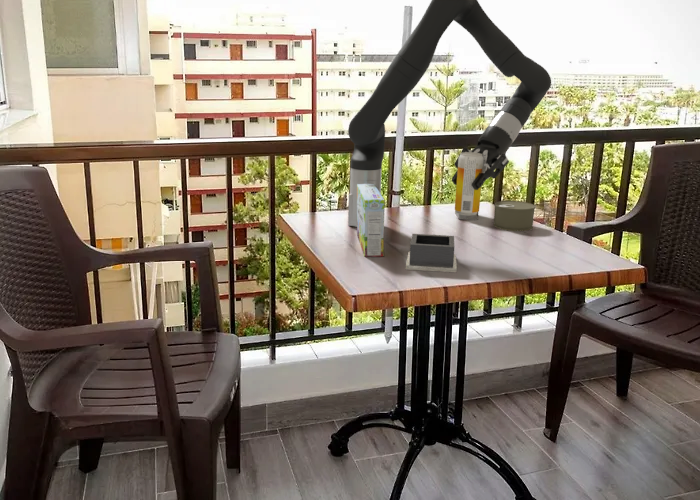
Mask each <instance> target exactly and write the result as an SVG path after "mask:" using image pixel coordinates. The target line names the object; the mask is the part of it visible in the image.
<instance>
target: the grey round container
mask: <svg viewBox="0 0 700 500" xmlns="http://www.w3.org/2000/svg"><path fill="white" fill-rule="evenodd" d="M535 209H536V205H535V204H533V203H530V202H524V201H519V200H500V201H496V202H494V215H493V227H494V228H496V229H499V230H503V231H508V232H527V231H531V230H532V229H533V224H534V216H535Z"/></svg>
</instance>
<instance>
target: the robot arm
mask: <svg viewBox="0 0 700 500" xmlns="http://www.w3.org/2000/svg"><path fill="white" fill-rule="evenodd" d="M453 21H454V22H455V23H457V24H458V25H459V26H461V27H462V28H463V29H465V30H466V31H467V32H468V33H469V34H470V36H472V38H473V39H475V41H476V43H477V44H478V45H479V47H480V48H481V50H482V51H483V52H484V54H485V56H486V57H487V58H488V59H489V60H490V61H491V63H493V65H494V66H495V67H496V68H497V69H498V71H500V72H501V74H502V75H503V76H505V77H506V78H512V77H515V78H516V79H518V80H519V81H520V83H519V85H518V87H517V89H516V90H515V92H514V93H513V95H512V96H511V97H510V99H508V100H507V101H506V103H505V104H504V105H503V106H502V108H501V109H500V111H499V112H498V113H497V114H496V115H495V116H494V118H492V120H491V121H490V123H488V125H487V127H486V128H485V130H484V131H483V133H482V134H481V135H480V137H479V138H478V139H477V140H478V141H477V145H476V146H475V147H474V148H473V149H469V148H468V147H465V146H464V148H463V149H461V151H460V153H459V155H458V156H457V159H456V161H455V162H454V166H455V168H456V172H454V174H453V176H452V177H451V182H452V184H453V185H455V186H456V185H457V172H458V159H459V156H460V154H461V153H462V152H475V153H481V154H482V156H483V159H484V160H483V167H482V170H481V173H479V174H478V176H477V177H476V179H475V180H474V181H473V183H472V187H473V188H474V189H475V190H478V189H479V188H480V187H481V188H482V186H483V185H484V184H485V182H486V181H487V180H490V178H492V179H496V178H497V176H499V175H500V174H501V172H503V170H504V169H505V168H506V167H507V165H508V164H509V163H510V161H509V159H508V157H507V156H506V153H507V151H508V150H509V149H510V148H511V146H512V144H513V143H514V141H515V140H516V139H517V137H518V136H519V134H520V132H521V130H522V128H523V127H524V126H525V125H526V123H527V121H528V119H530V117H531V114H532V113H533V112H534V111H535V109H537V107H538V106H539V104H540V103H541V101H542V100H543V99H544V97H545V96H546V94H547V93H548V91H549V90H550V88H551V86H552V78H551V76H550V73H549V72H548V71H547V70H546V68H544V67H543V66H542V65H541V64H539V63H537V62H536V61H535V60H533V59H532V58H530V57H528V56H527V55H525V54H524V53H523V52H522V51H521V50H520V49H519V48H518V46H517V45H516V44H515V43H514V42H513V41H512V40H511V39H510V37H508V36H507V35H506V33H504V32H503V31H502V30H501V29H500V28H499V27H498V26H497V25H496V24H495V23H494V22H493V21H492V19H491V18H490V17H489V16H488V15H487V13H486V12H485V10H484V9H483V7H482V6H481V4H480V2H479V0H431V1H430V2H429V4H428V6H427V8H426V10H425V12H424V14H423V15H422V17H421V19H420V21H419V22H418V24H417V25H416V26H415V28H414V30H413V31H412V32H411V34H410V35H409V37H407V40H406V41H405V43H404V44H403V45H402V46H401V48H400V50H399V51H397V52H398V53H397V54H396V55H395V56H394V59H392V61H391V63H390V64H389V66H388V68H387V70H386V71H385V72H384V74H383V75H382V77H381V79H380V81H379V83H378V84H377V86H376V88H375V89H374V91H373V92H372V94H371V96H370V97H369V99H368V100H367V101H366V102H365V103H364V105H362V107H361V108H360V109H359V110H358V112H357V113H356V114H355V115H354V116H353V118H352V119H351V121H350V122H349V124H348V130H347V131H348V132H347V133H348V136H349V139H350V140H351V142H352V143H353V147H354V148H353V152H352V156H351V158H350V172H349V173H350V176H349V177H350V178H349V179H350V180H349V181H350V182H349V183H350V184H349V194H348V210H347V211H348V212H347V213H348V214H347V215H348V216H347V218H348V219H347V220H348V221H347V223H348V224H347V226H351V227H355V228H357V184H375V186H376V188H377V189H378V191H379V192H380V194H381V195H382V193H381V192H382V170H383V169H382V167H383V159H384V155H385V145H386V144H385V142H386V126H385V123H386V121H387V120H388V119H389V116H390V115H391V113H392V112H393V111H394V109H396V107H397V106H398V105H399V104H400V103H401V102H403V100H404V99H405V98H406V97H407V96H408V95H409V94H410V93H411V92H412V91H413V90H414V88H415V87H416V86H417V85H418V83H419V82H420V81H421V79H422V78H423V77H424V75H425V74H426V73H427V70H428V68H429V67H430V66H431V62H432V61H433V58H434V55H435V52H436V49H437V48H438V47H437V46H438V43H439V42H440V39H441V38H442V36H443V34H444V33H445V32H446V31H447V29H448V27H449V26H450V25H451V24H452V23H453Z"/></svg>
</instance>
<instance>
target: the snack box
mask: <svg viewBox="0 0 700 500" xmlns="http://www.w3.org/2000/svg"><path fill="white" fill-rule="evenodd" d="M385 201H386V200H385V199H384V197H383V196H382V193H381V194H380V192H379V191H378V189H377V188H376V186H375V184H357V227H356V236H357V238H358V242H359V245H360V248H361V251H362V254H363V256H364V258H367V257H369V258H370V257H384V256H385V255H384V254H385V253H384V250H385V249H384V244H385V205H386V204H385V203H386V202H385Z"/></svg>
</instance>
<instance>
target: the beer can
mask: <svg viewBox="0 0 700 500" xmlns="http://www.w3.org/2000/svg"><path fill="white" fill-rule="evenodd" d="M461 152H462V151H461ZM461 152H460V153H461ZM460 153H459V155H460V156H459V155H458V157H459V159H458V158H457V159H458V169H457V170H458V172H457V171H456V172H457V185H455V187H456V188H455V190H456V191H455V200H454V201H455V202H454V211H455V210H456V212H457V213H458V214H460V215H468V216H471V215H476V214H477V213H478V214H479V213H480V205H481V204H480V203H481V192H482V186H481V187H480V188H479V189H478V190H475V189H474V188H473V187H472V183H473V181H474V180H475V179H476V177H477V176H478V174H479V173H481V170H482V167H483V160H484V159H483V156H482V154H481V153H475V152H462V153H461V154H460Z"/></svg>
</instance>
